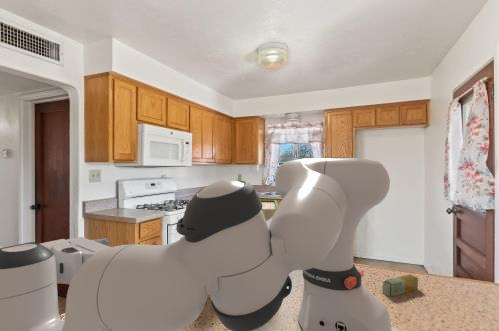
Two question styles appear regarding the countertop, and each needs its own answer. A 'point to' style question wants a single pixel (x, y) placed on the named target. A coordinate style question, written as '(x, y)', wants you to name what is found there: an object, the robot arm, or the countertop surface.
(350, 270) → the robot arm
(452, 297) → the countertop surface
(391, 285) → the medication box
